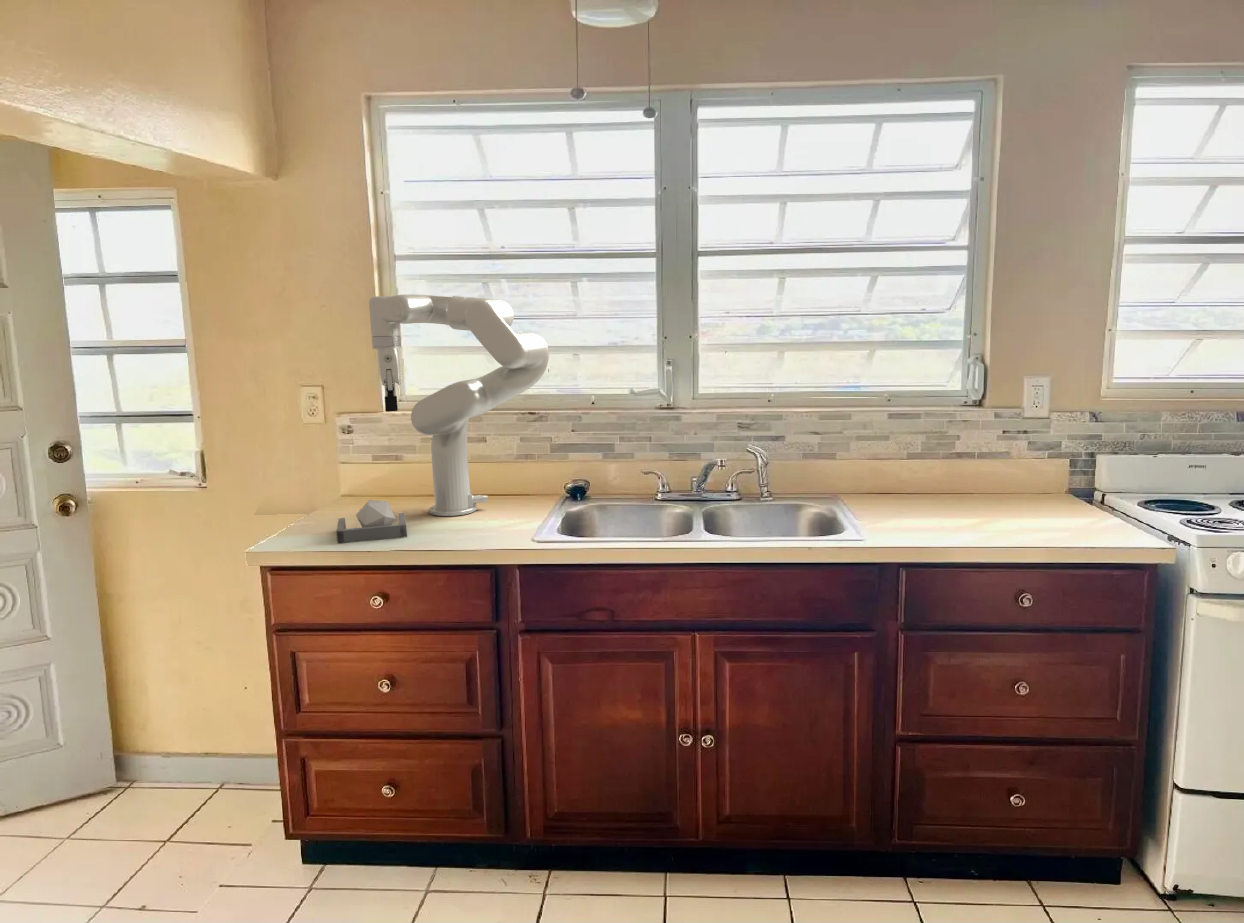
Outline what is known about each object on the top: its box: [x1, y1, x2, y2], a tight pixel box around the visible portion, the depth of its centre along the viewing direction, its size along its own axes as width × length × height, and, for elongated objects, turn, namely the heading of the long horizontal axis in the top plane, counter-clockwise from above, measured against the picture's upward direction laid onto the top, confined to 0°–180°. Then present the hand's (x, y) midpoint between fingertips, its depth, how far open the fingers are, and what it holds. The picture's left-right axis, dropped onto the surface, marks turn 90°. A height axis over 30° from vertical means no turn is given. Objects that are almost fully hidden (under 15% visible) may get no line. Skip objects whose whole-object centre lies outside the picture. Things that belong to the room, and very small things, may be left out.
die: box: [355, 499, 396, 528], centre depth 207 cm, size 8×9×10 cm
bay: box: [335, 512, 408, 544], centre depth 206 cm, size 16×13×3 cm
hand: (391, 410), depth 228 cm, fingers closed
